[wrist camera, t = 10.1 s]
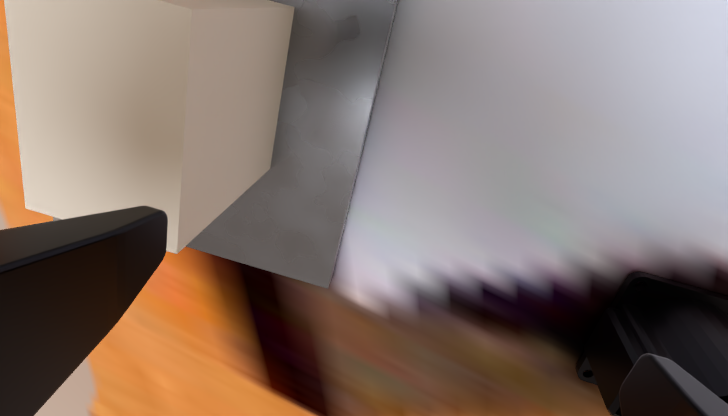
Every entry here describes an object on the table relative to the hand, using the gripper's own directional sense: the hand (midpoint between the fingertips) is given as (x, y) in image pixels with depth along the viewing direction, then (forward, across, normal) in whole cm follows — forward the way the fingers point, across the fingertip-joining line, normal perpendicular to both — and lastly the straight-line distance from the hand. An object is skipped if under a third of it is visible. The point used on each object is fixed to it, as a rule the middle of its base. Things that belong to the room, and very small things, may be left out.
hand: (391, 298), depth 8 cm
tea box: (+12, +9, 0) cm, 15 cm away
